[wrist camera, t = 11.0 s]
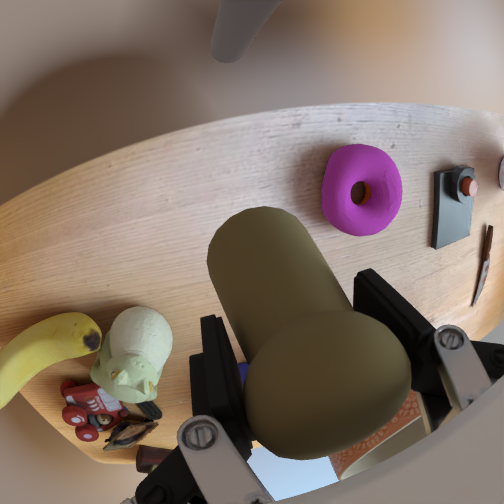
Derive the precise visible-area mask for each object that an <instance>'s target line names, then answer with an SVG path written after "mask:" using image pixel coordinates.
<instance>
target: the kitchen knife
mask: <svg viewBox="0 0 504 504" xmlns="http://www.w3.org/2000/svg"><path fill="white" fill-rule="evenodd" d="M492 236H493V226H491V225H489V226H488V231H487V235H486V240H485V245H484V253H483V256H482V259H483V266H482V270H481V275H480V279H479V283H478V287H477V291H476V295H475V299H474V302H473V305H472V307H473V306H474V305H475V303H476V302H477V300H478V298H479V295H480V293H481V291H482V289H483V286H484V283H485V280H486V277H487V273H488V268H489V262H490V254H489V252H490V249H491V243H492Z"/></svg>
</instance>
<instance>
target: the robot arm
mask: <svg viewBox="0 0 504 504" xmlns="http://www.w3.org/2000/svg"><path fill="white" fill-rule="evenodd" d="M353 309H354V311H355V312H359V313H362V314H364V315H367V316H370V317H372V318H374V319H376V320H377V321H379V322H381V323H382V324H384V325H386V326H387V327H388V328H389V329H390V330H391V332H392V333H393V334H394V335H395V336H396V337H397V338H398V340H399V341H400V343H401V344H402V345H403V347H404V348H405V351H406V353H407V355H408V358H409V360H410V362H411V389H412V390H413V391H414V392H415V396H416V399H417V403H418V406H419V410H420V414H421V417H422V421H423V425H424V429H425V433H426V437H425V438H423V439H422V440H420V441H418V442H417V443H415V444H413V445H412V446H410V447H408V448H407V449H405V450H403V451H402V452H400V453H398V454H396V455H394V456H392V457H391V458H389V459H387V460H385V461H383V462H381V463H379V464H377V465H375V466H373V467H371V468H369V469H366V470H364V471H362V472H360V473H358V474H355V475H353V476H351V477H348V478H346V479H343V480H341V481H338V482H336V483H333V484H330V485H328V486H325V487H322V488H319V489H317V490H313V491H310V492H307V493H304V494H301V495H297V496H294V497H291V498H286V499H283V500H279V501H275V500H274V499H273V497H272V496H271V495H270V494H269V492H268V491H267V490H266V488H265V487H264V486H263V484H262V483H261V481H260V480H259V479H258V477H257V476H256V475H255V473H254V472H253V470H252V469H251V467H250V466H249V464H248V463H247V462H246V461H247V460H248V459H249V457H250V456H251V455H252V453H251V449H252V448H253V446H252V442H251V441H255V440H256V438H255V437H254V435H253V433H252V432H251V430H250V428H249V424H248V422H247V418H246V415H245V410H244V405H243V400H242V395H243V383H242V379H241V374H240V370H239V366H238V363H237V360H236V357H235V355H234V352H233V349H232V346H231V343H230V340H229V338H228V335H227V332H226V329H225V326H224V323H223V320H222V317H217V318H216V316H215V314H213V315H209V316H205V317H201V318H200V322H201V334H202V345H203V353H200V354H195V355H191V356H190V357H189V366H190V384H191V399H192V412H193V417H191V418H189V419H188V420H186V421H185V422H184V423H183V424H182V425H181V426H180V427H179V429H178V431H177V441H178V446H177V447H176V448H175V449H174V450H173V451H172V452H171V453H170V454H169V455H168V456H167V457H166V458H165V459H164V460H163V461H162V462H161V463H160V464H159V465H158V466H157V467H156V468H155V469H154V470H153V471H152V472H151V473H150V474H149V475H148V476H147V477H146V478H145V479H144V480H143V481H142V482H141V483H140V484H139V486H138V487H137V489H136V492H135V496H134V497H132V498H131V499H129V498H127V499H126V500H124V501H123V502H121V503H120V504H504V345H502V344H496V343H487V342H480V341H472V340H469V338H468V336H467V335H466V333H465V332H464V331H463V330H462V329H461V328H459V327H457V326H455V325H443V326H441V327H439V328H438V329H437V330H436V329H435V328H434V327H433V326H432V325H431V324H430V323H429V322H428V321H427V320H426V319H425V318H424V317H423V316H422V315H421V314H420V313H419V312H418V311H417V310H416V309H415V308H414V307H413V306H412V305H411V304H410V303H409V302H408V301H407V300H406V299H405V298H404V297H402V296H401V295H400V294H399V293H398V292H397V291H396V290H395V289H394V288H393V287H392V286H391V285H390V284H388V283H387V282H386V281H385V280H384V279H383V278H382V277H381V276H380V275H379V274H377V273H376V272H375V271H374V270H373V269H371V268H369V269H366V270H363V271H360V272H358V273H357V276H356V277H354V294H353Z"/></svg>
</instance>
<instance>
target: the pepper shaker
mask: <svg viewBox="0 0 504 504" xmlns="http://www.w3.org/2000/svg"><path fill="white" fill-rule="evenodd" d="M207 266H208V270H209V275H210V278H211V280H212V283H213V285H214V288H215V290H216V292H217V295H218V297H219V300H220V302H221V304H222V307H223V309H224V311H225V314H226V316H227V318H228V320H229V323H230V325H231V327H232V329H233V332H234V334H235V336H236V338H237V341H238V343H239V345H240V347H241V350H242V352H243V354H244V356H245V358H246V360H247V363H248V365H249V367H248V370H247V373H246V377H245V380H244V384H243V395H242V400H243V405H244V410H245V415H246V418H247V422H248V424H249V428H250V430H251V432H252V433H253V435H254V437H255V438H256V440H257V441H258V442H259V443H260V444H261V445H263V446H264V447H265V448H266V449H268V450H269V451H270V452H272V453H273V454H275V455H276V456H278V457H282V458H289V459H295V460H309V459H317V458H321V457H326V456H330V455H333V454H335V453H338V452H341V451H343V450H346V449H348V448H350V447H352V446H354V445H356V444H358V443H360V442H362V441H364V440H365V439H367V438H369V437H370V436H372V435H373V434H375V433H376V432H378V431H379V430H380V429H381V428H382V427H384V426H385V425H386V424H387V423H388V422H390V421H391V419H392V418H393V417H394V416H395V415H396V414H397V413H398V412H399V410H400V409H401V407H402V405H403V403H404V402H405V400H406V398H407V396H408V394H409V392H410V390H411V362H410V360H409V358H408V355H407V353H406V351H405V348H404V347H403V345H402V344H401V343H400V341H399V340H398V338H397V337H396V336H395V335H394V334H393V333H392V332H391V330H390V329H389V328H388V327H387V326H386V325H384V324H382V323H381V322H379V321H377V320H376V319H374V318H372V317H370V316H367V315H364V314H362V313H359V312H355V311H354V309H353V307H352V305H351V304H350V302H349V300H348V298H347V297H346V295H345V293H344V291H343V289H342V288H341V286H340V284H339V283H338V281H337V279H336V277H335V276H334V274H333V272H332V271H331V269H330V267H329V266H328V264H327V262H326V261H325V259H324V257H323V256H322V254H321V252H320V251H319V249H318V247H317V246H316V244H315V242H314V241H313V239H312V238H311V236H310V234H309V233H308V231H307V230H306V228H305V227H304V226H303V225H302V223H301V222H300V221H299V220H298V219H297V218H296V217H295V216H294V215H292V214H290V213H288V212H286V211H284V210H283V209H279V208H273V207H266V206H262V207H256V208H250V209H246V210H244V211H242V212H240V213H238V214H236V215H234V216H232V217H230V218H229V219H228V220H227V221H226V222H225V223H224V224H223V225H222V226H221V227H220V228H219V229H218V230H217V231H216V233H215V235H214V237H213V239H212V240H211V242H210V244H209V248H208V255H207Z"/></svg>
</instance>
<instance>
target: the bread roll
mask: <svg viewBox="0 0 504 504" xmlns="http://www.w3.org/2000/svg"><path fill="white" fill-rule="evenodd" d="M158 425H159V424H158V423H157V422H155V423H154V421H153V420H150V419H144V422H140V421H123V422H121V423H119V424H118V425H117V426H116V427H115V428H114V429H113V431H112V432H111V436H110V437H109V439H106V440H105V442H108V441H109V443H108V444H107V445H106V446H105V447H104V448H103V450H104V451H108V450H116V449H124V448H126V447H127V448H131V447H133V446H134V445H135V444H136V443H138V442H139V441H140V440H142V439H143V438H145V437H146V435H147V434H148V433H151V432H152V430H154V429H155V428H156V427H157V426H158Z"/></svg>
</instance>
